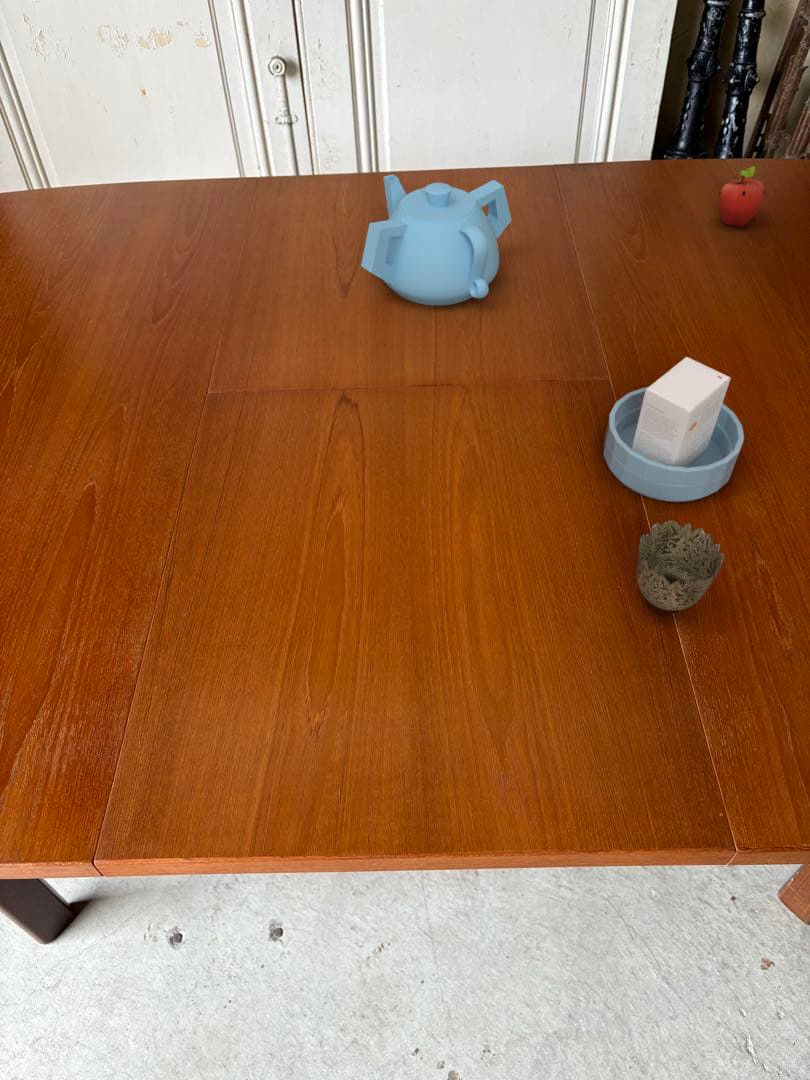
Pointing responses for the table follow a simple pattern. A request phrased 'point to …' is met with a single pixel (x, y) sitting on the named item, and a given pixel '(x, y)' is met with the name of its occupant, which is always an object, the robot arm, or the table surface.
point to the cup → (676, 566)
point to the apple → (740, 199)
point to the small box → (680, 414)
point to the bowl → (660, 478)
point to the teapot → (438, 241)
